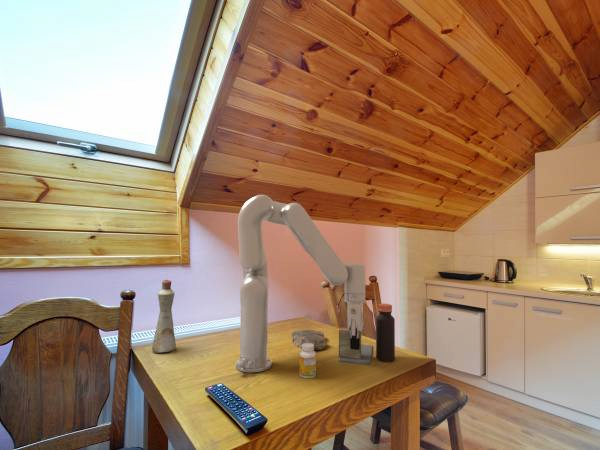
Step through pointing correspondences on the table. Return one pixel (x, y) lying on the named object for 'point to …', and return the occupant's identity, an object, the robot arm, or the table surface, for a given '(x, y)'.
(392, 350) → the vinegar
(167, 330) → the bottle
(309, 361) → the supplement bottle
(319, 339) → the grey rock
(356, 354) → the slab
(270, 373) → the table surface
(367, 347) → the mat
